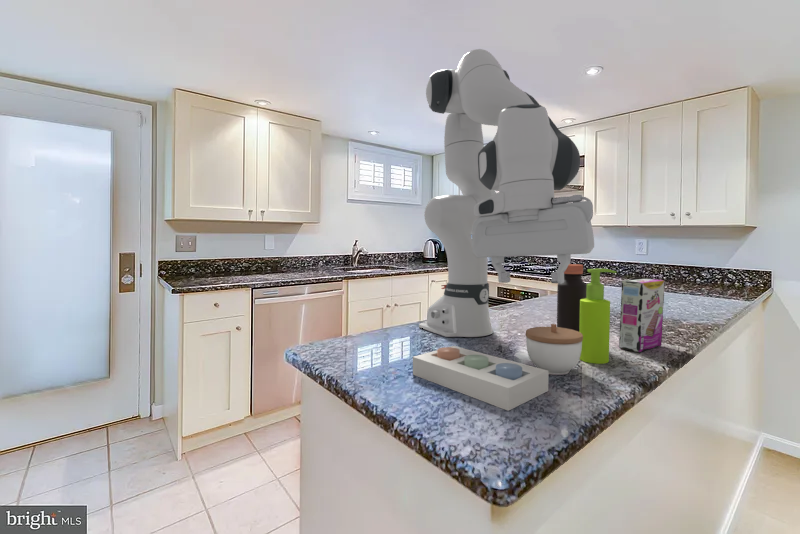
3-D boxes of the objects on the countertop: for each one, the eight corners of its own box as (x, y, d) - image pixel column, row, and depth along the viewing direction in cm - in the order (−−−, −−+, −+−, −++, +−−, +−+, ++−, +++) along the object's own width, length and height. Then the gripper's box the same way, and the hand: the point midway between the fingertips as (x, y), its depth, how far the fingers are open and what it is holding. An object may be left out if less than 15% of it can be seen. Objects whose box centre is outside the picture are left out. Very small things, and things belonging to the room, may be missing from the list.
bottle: (587, 342, 100) (588, 264, 98) (584, 348, 94) (585, 265, 92) (558, 338, 103) (559, 263, 102) (554, 345, 97) (555, 265, 96)
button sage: (459, 373, 73) (459, 357, 72) (474, 368, 75) (474, 353, 75) (478, 379, 69) (478, 363, 69) (493, 374, 72) (493, 358, 72)
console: (412, 374, 77) (412, 356, 77) (453, 361, 85) (453, 345, 84) (508, 410, 60) (508, 388, 60) (548, 390, 68) (548, 370, 68)
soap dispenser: (618, 364, 81) (620, 269, 80) (582, 363, 83) (584, 269, 81) (609, 356, 87) (611, 267, 86) (576, 355, 89) (577, 267, 87)
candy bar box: (640, 353, 89) (642, 282, 88) (618, 348, 93) (620, 280, 92) (663, 346, 95) (665, 279, 94) (641, 341, 99) (643, 277, 98)
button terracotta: (432, 364, 78) (432, 350, 78) (447, 360, 81) (447, 346, 81) (449, 370, 75) (449, 354, 74) (464, 365, 77) (464, 350, 77)
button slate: (490, 383, 67) (490, 366, 67) (505, 377, 70) (505, 361, 70) (512, 391, 64) (512, 373, 64) (527, 384, 67) (527, 367, 67)
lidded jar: (539, 380, 73) (539, 331, 72) (517, 362, 84) (517, 319, 83) (593, 378, 74) (594, 329, 73) (565, 360, 85) (565, 318, 84)
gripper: (598, 194, 61) (601, 281, 62) (483, 209, 75) (486, 280, 75) (585, 191, 56) (589, 285, 57) (465, 207, 70) (469, 283, 71)
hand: (529, 282), depth 66 cm, fingers open, 8 cm apart
